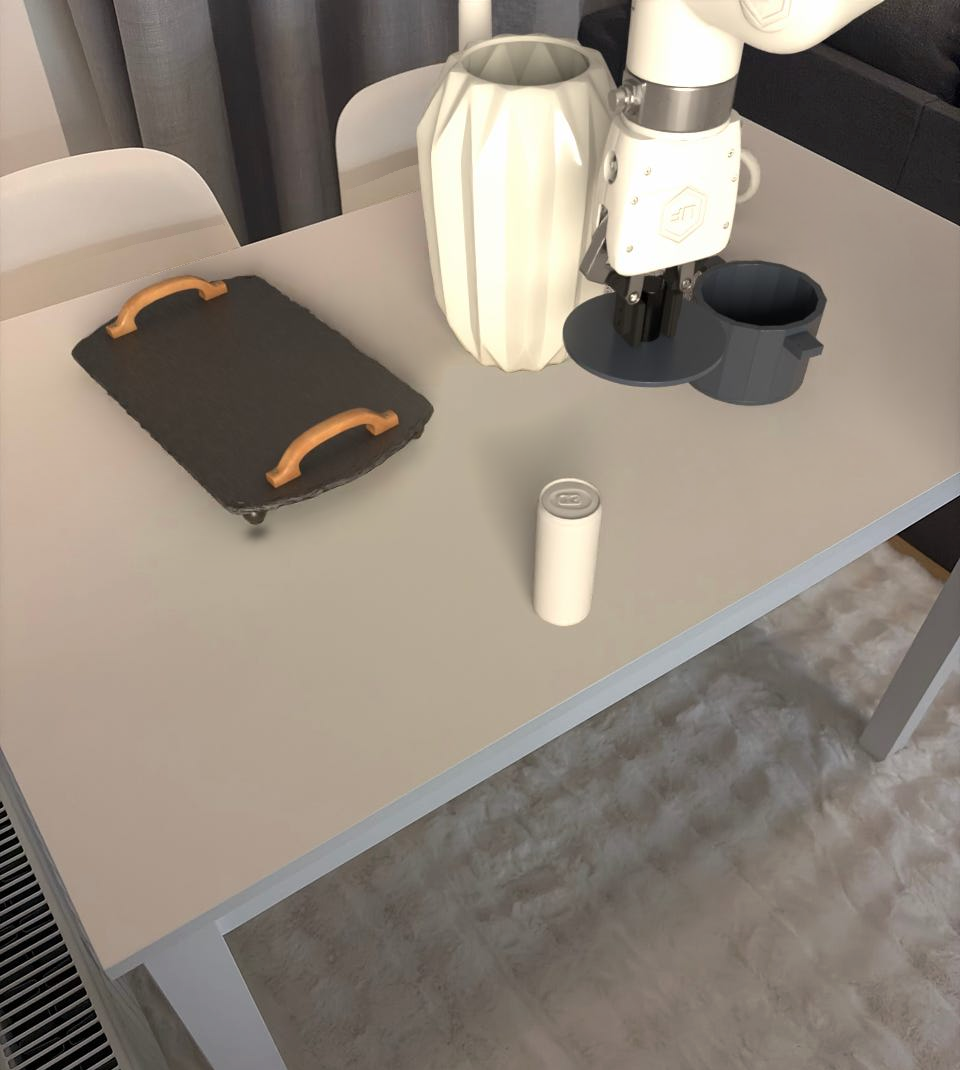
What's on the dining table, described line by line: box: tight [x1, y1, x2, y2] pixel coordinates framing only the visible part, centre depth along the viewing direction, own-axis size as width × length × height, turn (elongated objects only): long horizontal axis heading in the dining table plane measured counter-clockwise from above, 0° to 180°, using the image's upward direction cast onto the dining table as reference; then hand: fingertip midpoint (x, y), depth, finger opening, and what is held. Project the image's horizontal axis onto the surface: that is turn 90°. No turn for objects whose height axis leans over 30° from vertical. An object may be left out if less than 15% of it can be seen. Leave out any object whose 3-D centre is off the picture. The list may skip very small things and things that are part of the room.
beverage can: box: [531, 477, 604, 627], centre depth 73 cm, size 5×5×12 cm
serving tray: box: [71, 274, 435, 526], centre depth 94 cm, size 39×23×6 cm, turn 41°
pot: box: [688, 254, 828, 406], centre depth 95 cm, size 13×18×8 cm
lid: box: [562, 274, 727, 388], centre depth 78 cm, size 14×14×6 cm
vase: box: [416, 32, 621, 374], centre depth 91 cm, size 20×20×28 cm
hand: (644, 331), depth 79 cm, fingers closed on lid, 2 cm apart
